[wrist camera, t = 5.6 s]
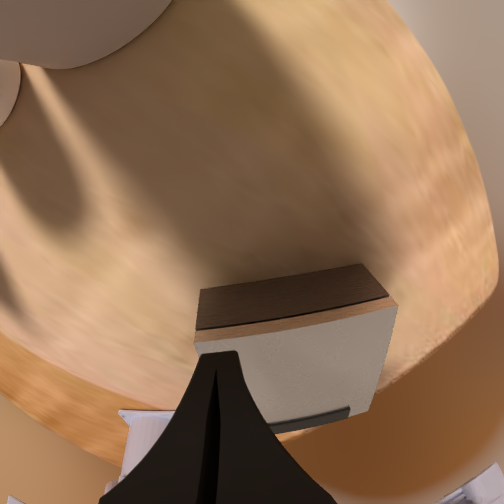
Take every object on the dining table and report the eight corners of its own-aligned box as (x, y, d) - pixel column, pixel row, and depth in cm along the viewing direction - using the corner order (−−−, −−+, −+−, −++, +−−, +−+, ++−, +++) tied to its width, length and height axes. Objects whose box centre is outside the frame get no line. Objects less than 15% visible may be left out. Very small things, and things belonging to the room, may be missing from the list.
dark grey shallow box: (348, 368, 25) (363, 400, 21) (229, 390, 24) (231, 426, 20) (362, 263, 19) (389, 294, 16) (200, 289, 19) (195, 328, 15)
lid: (364, 402, 20) (368, 412, 19) (231, 429, 20) (232, 440, 19) (390, 296, 15) (399, 306, 14) (195, 331, 15) (193, 345, 14)
